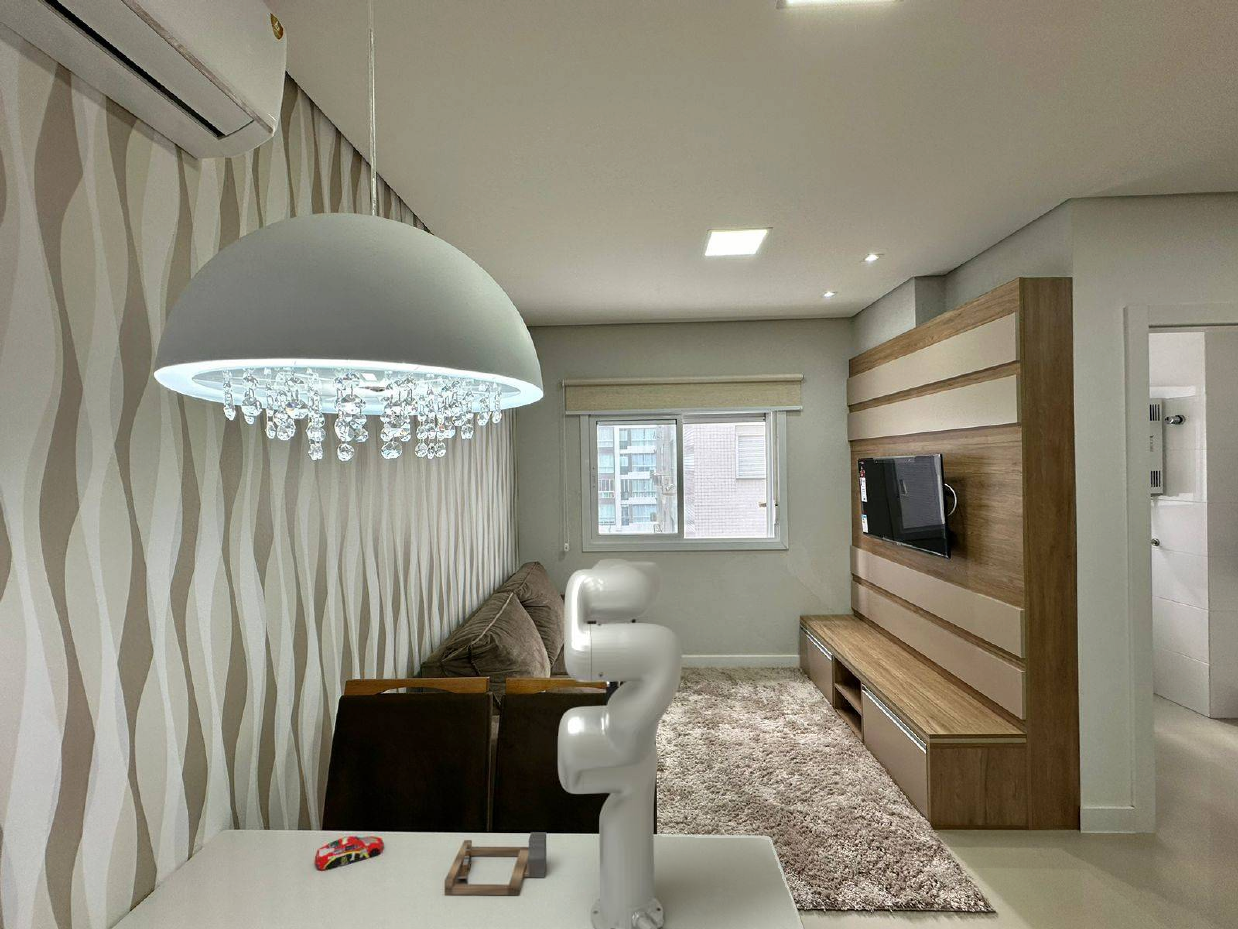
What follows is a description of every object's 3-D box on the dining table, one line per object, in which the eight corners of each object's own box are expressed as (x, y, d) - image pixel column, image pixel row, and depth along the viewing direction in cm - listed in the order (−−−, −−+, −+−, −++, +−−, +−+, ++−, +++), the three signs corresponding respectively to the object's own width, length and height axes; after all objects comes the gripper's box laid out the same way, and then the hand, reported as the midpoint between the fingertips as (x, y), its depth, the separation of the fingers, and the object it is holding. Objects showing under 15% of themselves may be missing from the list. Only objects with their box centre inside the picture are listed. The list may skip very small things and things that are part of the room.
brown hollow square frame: (540, 895, 125) (539, 856, 125) (444, 894, 125) (444, 856, 125) (550, 853, 139) (550, 818, 139) (464, 852, 140) (464, 818, 140)
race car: (381, 844, 144) (381, 825, 144) (386, 856, 140) (386, 836, 140) (313, 862, 137) (313, 842, 138) (316, 875, 133) (317, 854, 133)
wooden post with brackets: (475, 856, 137) (473, 840, 135) (468, 894, 130) (466, 877, 128) (466, 856, 137) (464, 840, 135) (459, 894, 130) (457, 877, 128)
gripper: (631, 625, 136) (631, 711, 135) (631, 609, 153) (632, 686, 153) (593, 625, 136) (594, 711, 136) (598, 610, 153) (599, 686, 153)
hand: (614, 698), depth 144 cm, fingers open, 9 cm apart
